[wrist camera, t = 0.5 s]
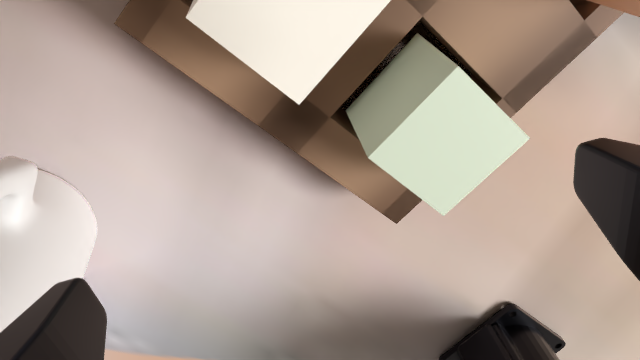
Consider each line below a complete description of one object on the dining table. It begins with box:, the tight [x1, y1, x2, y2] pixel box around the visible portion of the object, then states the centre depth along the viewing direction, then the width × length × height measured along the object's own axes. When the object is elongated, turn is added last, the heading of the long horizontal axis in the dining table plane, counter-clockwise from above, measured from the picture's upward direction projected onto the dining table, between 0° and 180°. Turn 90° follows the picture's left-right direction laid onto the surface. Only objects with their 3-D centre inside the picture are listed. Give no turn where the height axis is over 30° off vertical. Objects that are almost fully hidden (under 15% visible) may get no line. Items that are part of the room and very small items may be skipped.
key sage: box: [346, 33, 530, 216], centre depth 18 cm, size 4×4×4 cm
